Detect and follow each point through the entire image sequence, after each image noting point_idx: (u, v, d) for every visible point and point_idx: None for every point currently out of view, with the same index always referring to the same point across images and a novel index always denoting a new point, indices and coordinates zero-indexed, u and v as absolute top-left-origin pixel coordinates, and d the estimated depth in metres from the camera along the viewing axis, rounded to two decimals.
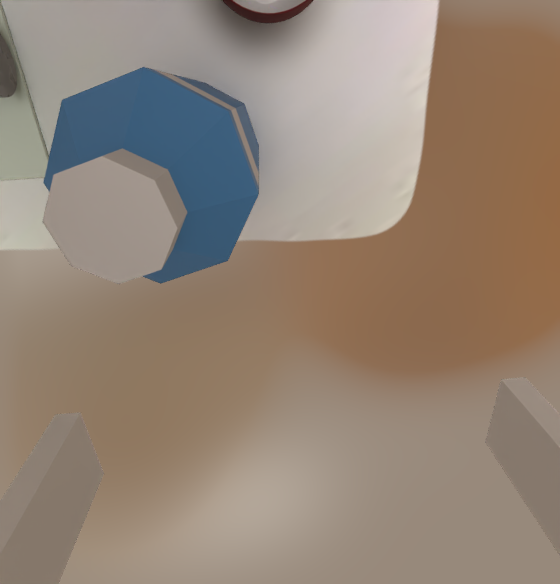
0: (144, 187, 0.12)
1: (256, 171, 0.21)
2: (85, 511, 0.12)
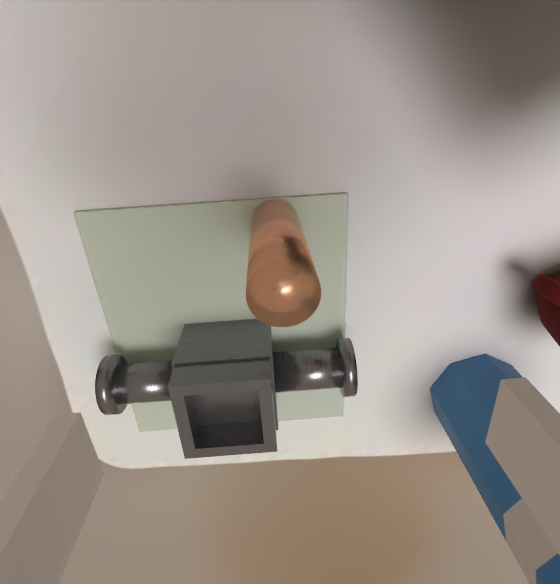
0: None
1: None
2: (85, 511, 0.12)
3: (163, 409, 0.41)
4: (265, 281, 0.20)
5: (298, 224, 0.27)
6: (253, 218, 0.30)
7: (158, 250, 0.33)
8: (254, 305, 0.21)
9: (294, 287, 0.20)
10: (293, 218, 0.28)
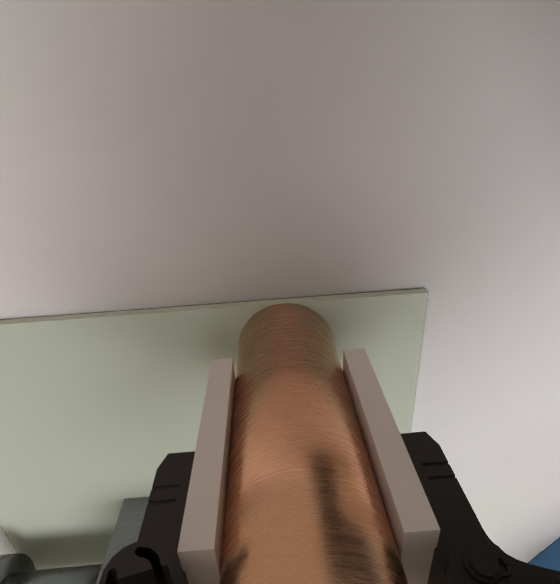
0: None
1: None
2: None
3: None
4: None
5: (344, 397, 0.12)
6: (242, 354, 0.14)
7: (63, 392, 0.17)
8: None
9: None
10: (331, 379, 0.12)
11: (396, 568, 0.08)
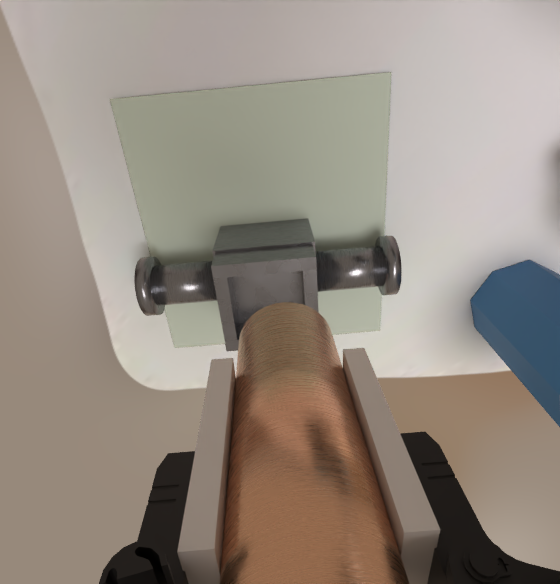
0: None
1: None
2: None
3: (198, 322, 0.40)
4: None
5: (344, 396, 0.12)
6: (242, 353, 0.14)
7: (195, 141, 0.32)
8: None
9: None
10: (332, 378, 0.12)
11: (397, 567, 0.08)
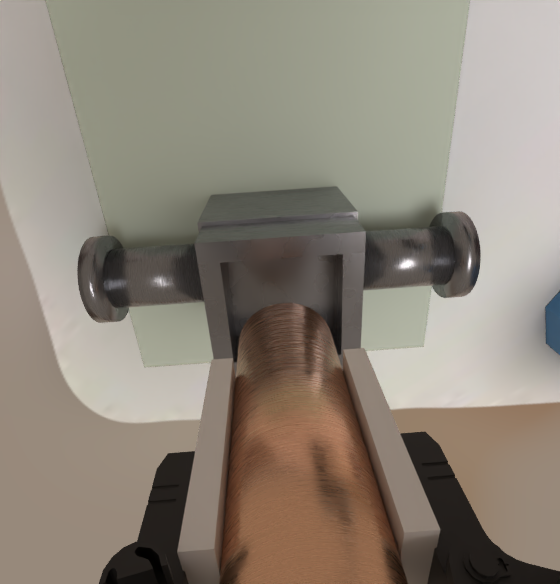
0: None
1: None
2: None
3: (177, 333, 0.29)
4: None
5: (343, 396, 0.12)
6: (242, 353, 0.14)
7: (175, 61, 0.21)
8: None
9: None
10: (331, 378, 0.12)
11: (395, 566, 0.08)
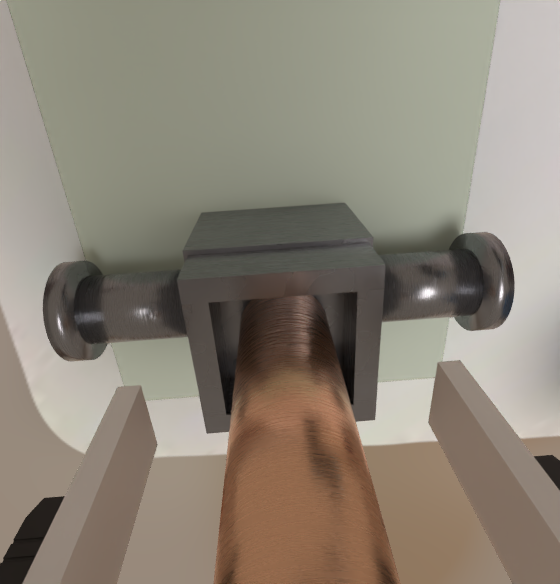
0: None
1: None
2: (146, 475, 0.13)
3: (165, 364, 0.26)
4: None
5: (334, 367, 0.13)
6: (243, 331, 0.16)
7: (157, 59, 0.18)
8: None
9: None
10: (323, 352, 0.13)
11: (371, 501, 0.09)
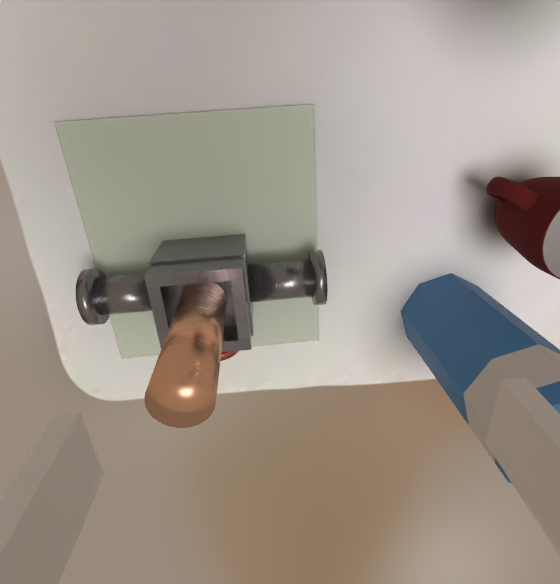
0: None
1: None
2: (85, 511, 0.12)
3: (144, 333, 0.42)
4: (162, 391, 0.22)
5: (215, 313, 0.29)
6: (179, 301, 0.32)
7: (136, 162, 0.34)
8: (154, 410, 0.23)
9: (189, 394, 0.22)
10: (211, 306, 0.30)
11: (211, 349, 0.25)
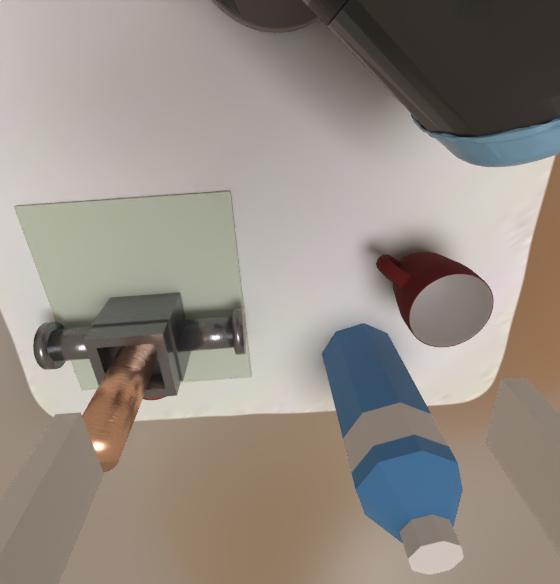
0: (455, 548, 0.28)
1: None
2: (85, 511, 0.12)
3: None
4: None
5: (138, 372, 0.36)
6: (114, 358, 0.39)
7: (84, 236, 0.41)
8: None
9: (98, 450, 0.29)
10: (135, 366, 0.36)
11: (123, 409, 0.32)
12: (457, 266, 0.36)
